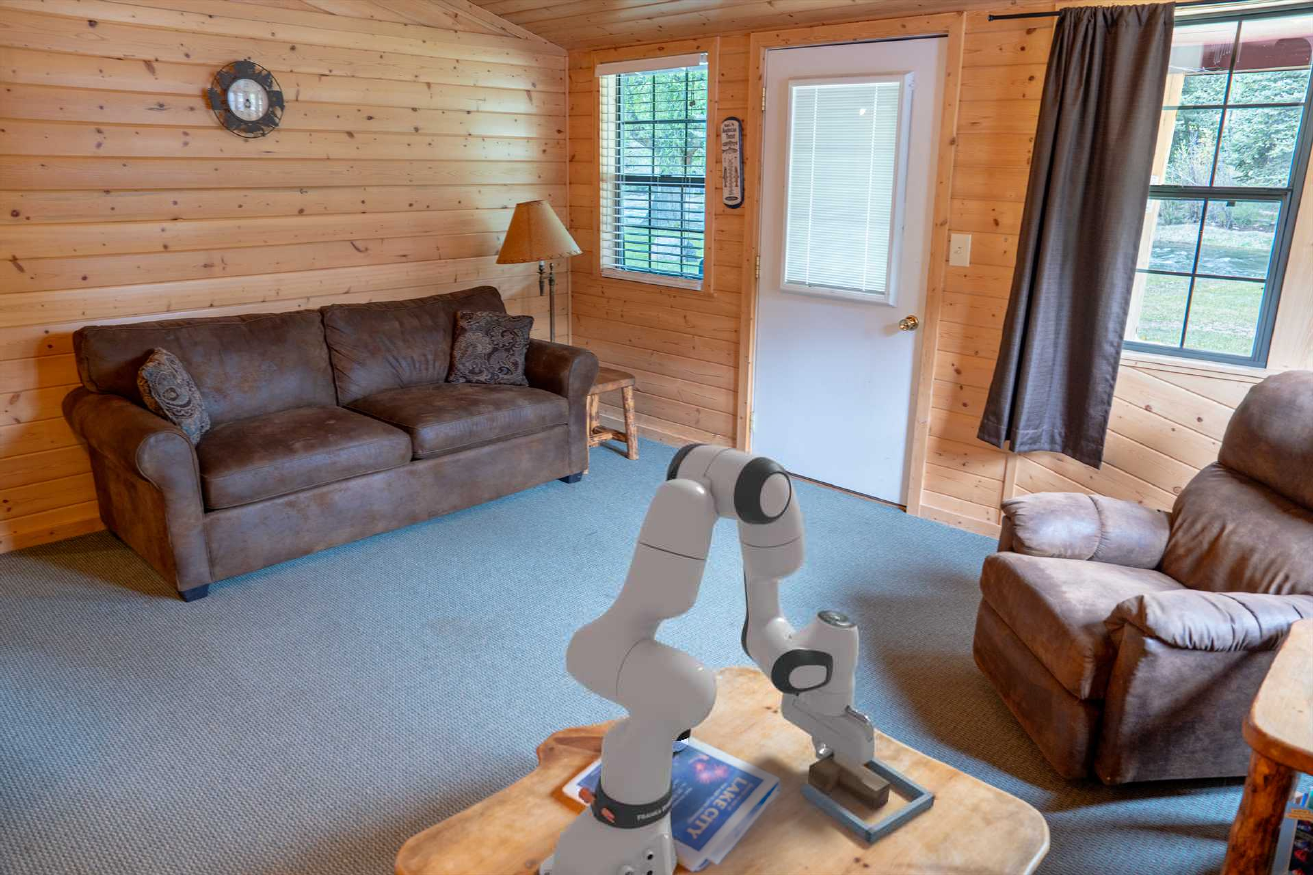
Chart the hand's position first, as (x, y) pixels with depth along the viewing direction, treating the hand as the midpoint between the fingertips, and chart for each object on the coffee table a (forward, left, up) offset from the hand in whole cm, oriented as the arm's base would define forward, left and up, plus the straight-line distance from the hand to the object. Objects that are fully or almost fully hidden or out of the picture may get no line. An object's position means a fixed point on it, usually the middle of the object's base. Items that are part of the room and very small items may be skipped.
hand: (823, 759), depth 174 cm
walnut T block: (0, -8, -2) cm, 8 cm away
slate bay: (0, -10, -2) cm, 10 cm away
